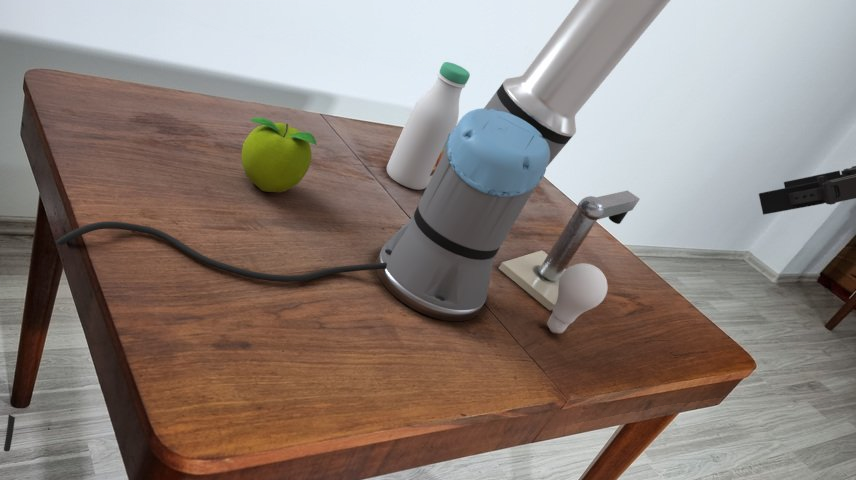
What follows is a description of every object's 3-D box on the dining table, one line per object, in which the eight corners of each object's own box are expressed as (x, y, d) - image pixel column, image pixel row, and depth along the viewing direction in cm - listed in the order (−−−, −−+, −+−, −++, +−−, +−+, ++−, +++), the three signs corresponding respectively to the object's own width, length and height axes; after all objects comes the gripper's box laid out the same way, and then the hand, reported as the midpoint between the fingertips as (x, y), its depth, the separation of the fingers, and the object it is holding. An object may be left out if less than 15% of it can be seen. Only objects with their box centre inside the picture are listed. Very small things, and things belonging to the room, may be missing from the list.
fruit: (286, 213, 96) (309, 149, 90) (224, 184, 96) (243, 118, 91) (306, 188, 104) (329, 128, 98) (249, 161, 104) (268, 99, 98)
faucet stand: (549, 310, 101) (553, 304, 100) (498, 268, 106) (501, 262, 105) (587, 294, 109) (591, 288, 109) (538, 255, 114) (542, 250, 113)
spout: (551, 284, 105) (601, 207, 97) (533, 269, 106) (581, 192, 99) (598, 266, 116) (646, 196, 108) (581, 253, 118) (627, 183, 110)
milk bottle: (415, 195, 115) (469, 82, 105) (377, 171, 117) (426, 58, 107) (434, 184, 122) (486, 77, 111) (397, 162, 124) (445, 54, 113)
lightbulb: (579, 339, 98) (624, 278, 92) (559, 351, 93) (604, 287, 87) (545, 311, 100) (586, 250, 94) (524, 322, 96) (565, 258, 90)
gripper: (989, 202, 71) (756, 240, 86) (993, 177, 89) (800, 212, 104) (974, 129, 71) (743, 179, 85) (982, 118, 88) (789, 161, 103)
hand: (774, 197), depth 94 cm, fingers open, 13 cm apart
